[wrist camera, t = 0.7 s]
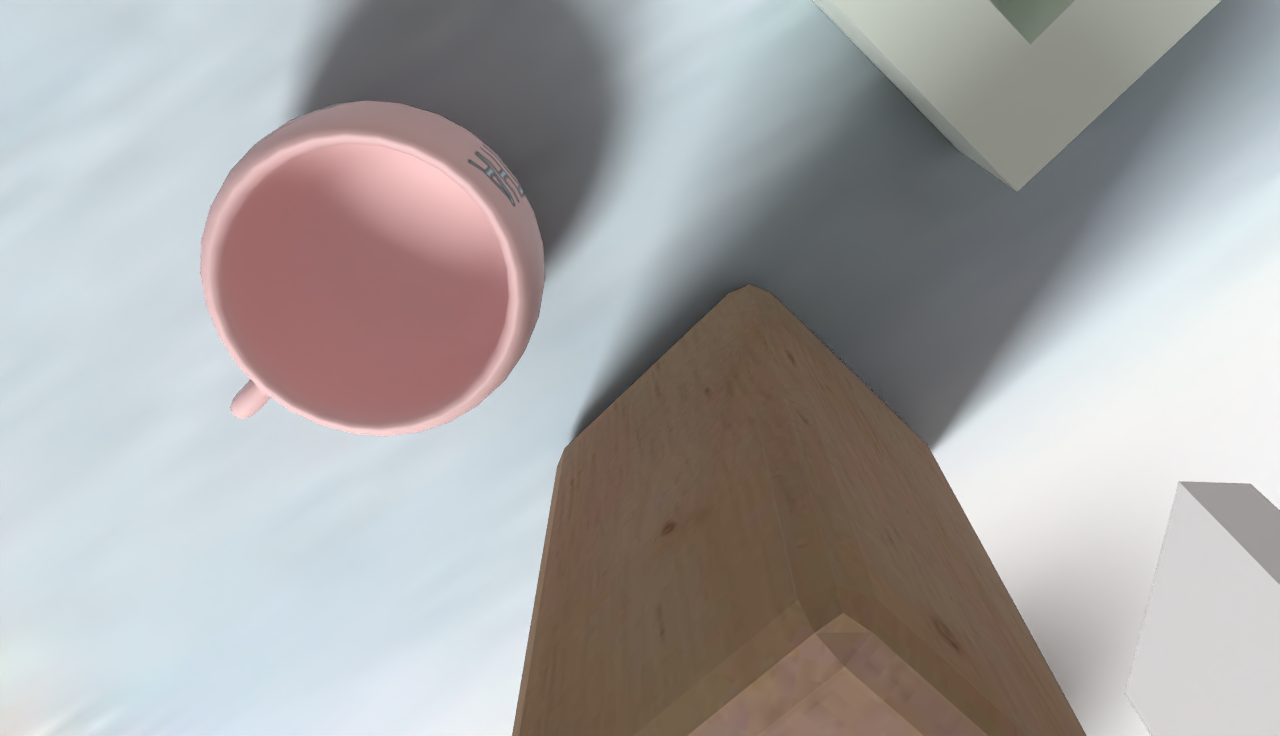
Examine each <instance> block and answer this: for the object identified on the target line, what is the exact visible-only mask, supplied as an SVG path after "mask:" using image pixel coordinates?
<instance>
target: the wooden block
mask: <svg viewBox="0 0 1280 736" xmlns="http://www.w3.org/2000/svg"><path fill="white" fill-rule="evenodd" d="M512 736H1086V734H1085V732H1084V730H1083V728H1082V726H1081V725H1080V723H1079V721H1078V719H1077V717H1076V716H1075V714H1074V712H1073V710H1072V708H1071V706H1070V705H1069V703H1068V701H1067V699H1066V697H1065V695H1064V694H1063V692H1062V690H1061V688H1060V686H1059V684H1058V683H1057V681H1056V679H1055V677H1054V675H1053V673H1052V672H1051V670H1050V668H1049V666H1048V664H1047V663H1046V661H1045V659H1044V657H1043V655H1042V653H1041V652H1040V650H1039V648H1038V646H1037V644H1036V642H1035V641H1034V639H1033V637H1032V635H1031V633H1030V631H1029V630H1028V628H1027V626H1026V624H1025V622H1024V621H1023V619H1022V617H1021V615H1020V613H1019V611H1018V610H1017V608H1016V606H1015V604H1014V602H1013V600H1012V599H1011V597H1010V595H1009V593H1008V591H1007V589H1006V588H1005V586H1004V584H1003V582H1002V580H1001V578H1000V577H999V575H998V573H997V571H996V569H995V568H994V566H993V564H992V562H991V560H990V558H989V557H988V555H987V553H986V551H985V549H984V547H983V546H982V544H981V542H980V540H979V538H978V536H977V535H976V533H975V531H974V529H973V527H972V526H971V524H970V522H969V520H968V518H967V516H966V515H965V513H964V511H963V509H962V507H961V505H960V504H959V502H958V500H957V498H956V496H955V494H954V493H953V491H952V489H951V487H950V485H949V483H948V482H947V480H946V478H945V476H944V474H943V473H942V471H941V469H940V467H939V465H938V463H937V462H936V460H935V458H934V456H933V454H932V452H931V451H930V449H929V447H928V445H927V444H926V443H925V442H924V441H923V440H922V439H921V438H920V437H919V436H918V435H917V434H916V433H915V432H914V431H913V430H912V429H911V428H909V427H908V426H907V425H906V424H905V423H904V422H903V421H902V420H901V419H900V418H899V417H898V416H897V415H896V414H895V413H894V412H893V411H892V410H891V409H890V408H889V407H888V406H887V405H886V404H885V403H884V402H883V401H882V400H881V399H880V398H879V397H878V396H877V395H876V394H875V393H874V392H873V391H872V390H870V389H869V388H868V387H867V386H866V385H865V384H864V383H863V382H862V381H861V380H860V379H859V378H858V377H857V376H856V375H855V374H854V373H853V372H852V371H851V370H850V369H849V368H848V367H847V366H846V365H845V364H844V363H843V362H842V361H841V360H840V359H839V358H838V357H837V356H836V355H835V354H834V353H833V352H832V351H830V350H829V349H828V348H827V347H826V346H825V345H824V344H823V343H822V342H821V341H820V340H819V339H818V338H817V337H816V336H815V335H814V334H813V333H812V332H811V331H810V330H809V329H808V328H807V327H806V326H805V325H804V324H803V323H802V322H801V321H800V320H799V319H798V318H797V317H796V316H795V315H794V314H793V313H791V312H790V311H789V310H788V309H787V308H786V307H785V306H784V305H783V304H782V303H781V302H780V301H779V300H778V299H777V298H776V297H775V296H774V295H773V294H772V293H771V292H768V291H766V290H763V289H761V288H758V287H755V286H753V285H750V284H749V285H747V286H745V287H742V288H740V289H737V290H735V291H732V292H730V293H728V294H727V295H726V296H725V297H724V298H723V299H722V300H721V301H720V302H719V303H718V304H716V305H715V306H714V307H713V308H712V309H711V310H710V311H709V312H708V313H707V314H706V315H705V316H704V317H703V318H702V319H701V320H700V321H699V322H697V323H696V324H695V325H694V326H693V327H692V328H691V329H690V330H689V331H688V332H687V333H686V334H685V335H684V336H683V337H682V338H681V339H679V340H678V341H677V342H676V343H675V344H674V345H673V346H672V347H671V348H670V349H669V350H668V351H667V352H666V353H665V354H664V355H663V356H662V357H660V358H659V359H658V360H657V361H656V362H655V363H654V364H653V365H652V366H651V367H650V368H649V369H648V370H647V371H646V372H645V373H644V374H643V375H641V376H640V377H639V378H638V379H637V380H636V381H635V382H634V383H633V384H632V385H631V386H630V387H629V388H628V389H627V390H626V391H625V392H624V393H622V394H621V395H620V396H619V397H618V398H617V399H616V400H615V401H614V402H613V403H612V404H611V405H610V406H609V407H608V408H607V409H606V410H605V411H603V412H602V413H601V414H600V415H599V416H598V417H597V418H596V419H595V420H594V421H593V422H592V423H591V424H590V425H589V426H588V427H587V428H586V429H584V430H583V431H582V432H581V433H580V434H579V435H578V436H577V437H576V438H575V439H574V440H573V441H572V442H571V443H570V444H569V445H568V446H567V447H565V449H564V451H563V454H562V456H561V458H560V461H559V463H558V466H557V471H556V477H555V483H554V489H553V495H552V501H551V507H550V513H549V519H548V525H547V531H546V537H545V543H544V549H543V555H542V560H541V566H540V572H539V578H538V584H537V590H536V596H535V602H534V608H533V614H532V620H531V626H530V632H529V638H528V644H527V650H526V656H525V662H524V668H523V674H522V680H521V686H520V692H519V698H518V704H517V710H516V716H515V722H514V727H513V733H512Z"/></svg>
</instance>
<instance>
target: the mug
mask: <svg viewBox="0 0 1280 736" xmlns="http://www.w3.org/2000/svg"><path fill="white" fill-rule="evenodd" d="M200 274H201V279H202V285H203V290H204V296H205V301H206V306H207V309H208V311H209V313H210V316H211V318H212V321H213V323H214V326H215V328H216V331H217V333H218V336H219V338H220V339H221V341H222V342H223V344H224V345H225V347H226V348H227V350H228V351H229V353H230V355H231V356H232V358H233V359H234V361H235V362H236V364H237V365H238V366H239V367H240V368H241V370H242V371H243V372H244V373H245V374H246V375H247V376H248V377H249V378H250V379H251V380H250V381H249V382H248V383H247V384H246V385H245V386H244V387H243V388H242V389H241V390H240V391H239V393H238V394H237V395H236V396H235V397H234V399H233V401H232V404H231V406H230V409H231V411H232V413H233V415H234V416H235V417H238V418H241V419H245V418H247V417H250V416H252V415H254V414H255V413H256V412H257V411H258V410H259V409H260V408H261V407H262V406H263V405H264V404H266V402H267V401H268V399H269V398H270V397H272V398H273V399H274V400H276V401H277V402H279V403H280V404H281V405H283V406H284V407H286V408H287V409H288V410H290V411H292V412H294V413H296V414H298V415H300V416H302V417H305V418H307V419H309V420H311V421H313V422H315V423H317V424H319V425H322V426H326V427H330V428H334V429H337V430H341V431H345V432H349V433H353V434H364V435H378V436H392V435H400V434H409V433H417V432H421V431H424V430H427V429H430V428H433V427H436V426H440V425H443V424H446V423H449V422H451V421H452V420H454V419H456V418H457V417H459V416H461V415H463V414H464V413H466V412H468V411H470V410H471V409H473V408H475V407H476V406H477V405H479V404H480V403H481V402H482V401H483V400H484V399H485V398H486V397H487V396H488V395H490V394H491V393H492V392H493V391H494V390H495V389H496V388H497V387H498V386H499V385H500V384H501V383H502V382H504V381H505V379H506V378H507V377H508V375H509V374H510V372H511V371H512V369H513V368H514V366H515V365H516V364H517V362H518V361H519V359H520V358H521V356H522V355H523V353H524V351H525V349H526V347H527V345H528V342H529V340H530V337H531V335H532V332H533V330H534V327H535V325H536V322H537V320H538V317H539V312H540V307H541V300H542V294H543V288H544V282H545V266H544V249H543V242H542V238H541V235H540V231H539V228H538V224H537V221H536V217H535V213H534V211H533V209H532V207H531V205H530V203H529V201H528V199H527V198H526V196H525V194H524V192H523V190H522V188H521V186H520V184H519V182H518V180H517V178H516V177H515V176H514V175H513V174H512V172H511V171H510V170H509V169H508V167H507V166H506V165H505V164H504V162H503V161H502V160H501V159H500V158H499V156H498V155H497V154H496V153H495V152H494V151H493V150H492V149H491V148H489V147H488V146H487V145H486V144H484V143H483V142H482V141H481V140H480V139H478V138H477V137H476V136H475V135H474V134H472V133H471V132H470V131H469V130H467V129H465V128H463V127H461V126H459V125H457V124H455V123H454V122H452V121H450V120H448V119H446V118H444V117H442V116H440V115H439V114H435V113H432V112H429V111H425V110H422V109H418V108H415V107H412V106H408V105H405V104H401V103H391V102H379V101H367V100H364V101H357V102H349V103H342V104H334V105H329V106H326V107H324V108H321V109H318V110H316V111H313V112H310V113H308V114H305V115H302V116H300V117H297V118H295V119H292V120H290V121H288V122H287V123H285V124H284V125H282V126H281V127H279V128H278V129H276V130H275V131H273V132H272V133H270V134H269V135H267V136H266V137H264V138H263V139H261V140H260V141H259V142H257V143H256V144H255V145H254V146H253V147H252V148H251V149H250V150H249V151H248V152H247V153H246V154H245V155H244V156H243V158H242V159H241V160H240V161H239V162H238V163H237V164H236V165H235V166H234V167H233V168H232V170H231V171H230V172H229V174H228V176H227V178H226V180H225V181H224V183H223V185H222V187H221V189H220V190H219V192H218V194H217V196H216V198H215V199H214V201H213V203H212V205H211V207H210V210H209V214H208V217H207V221H206V225H205V228H204V232H203V236H202V241H201V267H200Z"/></svg>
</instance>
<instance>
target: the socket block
mask: <svg viewBox="0 0 1280 736" xmlns="http://www.w3.org/2000/svg"><path fill="white" fill-rule="evenodd" d="M812 1H813V2H814V3H815V4H816V5H817V6H818V7H819V8H820V9H821V10H822V11H823V12H824V13H825V14H826V15H827V16H828V17H829V18H830V19H831V20H832V21H833V22H834V23H835V24H836V25H837V26H838V27H839V28H840V29H841V30H842V32H843V33H844V34H845V35H846V36H847V37H848V38H849V39H850V40H851V41H852V42H853V43H854V44H855V45H856V46H857V47H858V48H859V49H860V50H861V51H862V52H863V53H864V54H865V55H866V56H867V57H868V58H869V59H870V60H871V61H872V62H873V63H874V64H875V65H876V66H877V67H878V68H879V69H880V71H881V72H882V73H883V74H884V75H885V76H886V77H887V78H888V79H889V80H890V81H891V82H892V83H893V84H894V85H895V86H896V87H897V88H898V89H899V90H900V91H901V92H902V93H903V94H904V95H905V96H906V97H907V98H908V99H909V100H910V101H911V102H912V103H913V104H914V105H915V106H916V107H917V108H918V110H919V111H920V112H921V113H922V114H923V115H924V116H925V117H926V118H927V119H928V120H929V121H930V122H931V123H932V124H933V125H934V126H935V127H936V128H937V129H938V130H939V131H940V132H941V133H942V134H943V135H944V136H945V137H946V138H947V139H948V140H949V141H950V142H951V143H952V144H953V145H954V146H955V147H956V149H957V150H958V151H959V152H961V153H962V154H964V155H965V156H967V157H968V158H969V159H971V160H972V161H974V162H975V163H977V164H978V165H979V166H981V167H982V168H984V169H985V170H987V171H988V172H989V173H991V174H992V175H994V176H995V177H996V178H998V179H999V180H1001V181H1002V182H1004V183H1005V184H1006V185H1008V186H1009V187H1011V188H1012V189H1014V190H1015V191H1016V192H1018V191H1019V190H1020V189H1021V188H1022V187H1023V186H1024V185H1025V184H1027V183H1028V182H1029V181H1030V180H1031V179H1032V178H1033V177H1034V176H1035V175H1036V174H1037V173H1038V172H1039V171H1040V170H1041V169H1043V168H1044V167H1045V166H1046V165H1047V164H1048V163H1049V162H1050V161H1051V160H1052V159H1053V158H1054V157H1055V156H1056V155H1057V154H1059V153H1060V152H1061V151H1062V150H1063V149H1064V148H1065V147H1066V146H1067V145H1068V144H1069V143H1070V142H1071V141H1072V140H1073V139H1074V138H1076V137H1077V136H1078V135H1079V134H1080V133H1081V132H1082V131H1083V130H1084V129H1085V128H1086V127H1087V126H1088V125H1089V124H1090V123H1092V122H1093V121H1094V120H1095V119H1096V118H1097V117H1098V116H1099V115H1100V114H1101V113H1102V112H1103V111H1104V110H1105V109H1106V108H1108V107H1109V106H1110V105H1111V104H1112V103H1113V102H1114V101H1115V100H1116V99H1117V98H1118V97H1119V96H1120V95H1121V94H1122V93H1123V92H1125V91H1126V90H1127V89H1128V88H1129V87H1130V86H1131V85H1132V84H1133V83H1134V82H1135V81H1136V80H1137V79H1138V78H1139V77H1141V76H1142V75H1143V74H1144V73H1145V72H1146V71H1147V70H1148V69H1149V68H1150V67H1151V66H1152V65H1153V64H1154V63H1155V62H1157V61H1158V60H1159V59H1160V58H1161V57H1162V56H1163V55H1164V54H1165V53H1166V52H1167V51H1168V50H1169V49H1170V48H1171V47H1172V46H1174V45H1175V44H1176V43H1177V42H1178V41H1179V40H1180V39H1181V38H1182V37H1183V36H1184V35H1185V34H1186V33H1187V32H1188V31H1190V30H1191V29H1192V28H1193V27H1194V26H1195V25H1196V24H1197V23H1198V22H1199V21H1200V20H1201V19H1202V18H1203V17H1204V16H1206V15H1207V14H1208V13H1209V12H1210V11H1211V10H1212V9H1213V8H1214V7H1215V6H1216V5H1217V4H1218V3H1219V2H1220V1H1222V0H812Z"/></svg>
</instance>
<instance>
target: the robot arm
mask: <svg viewBox="0 0 1280 736" xmlns="http://www.w3.org/2000/svg"><path fill="white" fill-rule="evenodd" d="M1125 695H1126V697H1127V698H1128V700H1129V702H1130V703H1131V705H1132V706H1133V708H1134V709H1135V711H1136V713H1137V714H1138V716H1139V717H1140V719H1141V720H1142V722H1143V724H1144V725H1145V727H1146V728H1147V730H1148V731H1149V733H1150V735H1151V736H1280V510H1279V509H1278V508H1277V507H1275V506H1274V505H1273V504H1272V503H1271V502H1270V501H1269V500H1268V499H1267V498H1266V497H1265V496H1263V495H1262V494H1261V493H1260V492H1259V491H1258V490H1257V489H1256V488H1255V487H1254V486H1252V485H1251V484H1242V483H1210V482H1179V483H1178V487H1177V491H1176V495H1175V498H1174V502H1173V506H1172V510H1171V514H1170V518H1169V522H1168V526H1167V530H1166V534H1165V538H1164V542H1163V545H1162V549H1161V553H1160V557H1159V561H1158V565H1157V569H1156V573H1155V577H1154V581H1153V585H1152V589H1151V592H1150V596H1149V600H1148V604H1147V608H1146V612H1145V616H1144V620H1143V624H1142V628H1141V632H1140V636H1139V639H1138V643H1137V647H1136V651H1135V655H1134V659H1133V663H1132V667H1131V671H1130V675H1129V679H1128V683H1127V686H1126V690H1125Z"/></svg>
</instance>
